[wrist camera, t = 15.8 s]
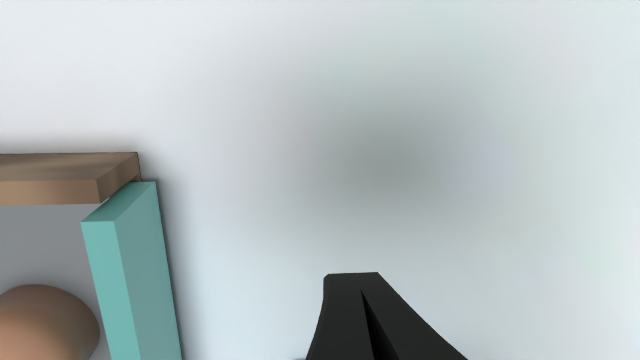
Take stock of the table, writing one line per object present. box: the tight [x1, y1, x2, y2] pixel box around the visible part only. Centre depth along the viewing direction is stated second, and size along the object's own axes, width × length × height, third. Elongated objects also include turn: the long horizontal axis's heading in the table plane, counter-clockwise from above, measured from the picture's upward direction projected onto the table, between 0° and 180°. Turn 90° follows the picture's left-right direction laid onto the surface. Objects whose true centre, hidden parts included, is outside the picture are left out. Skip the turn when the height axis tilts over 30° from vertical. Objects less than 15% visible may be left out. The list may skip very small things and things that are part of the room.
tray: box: [0, 182, 182, 360], centre depth 18 cm, size 15×16×4 cm
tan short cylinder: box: [0, 284, 100, 360], centre depth 17 cm, size 5×5×4 cm
